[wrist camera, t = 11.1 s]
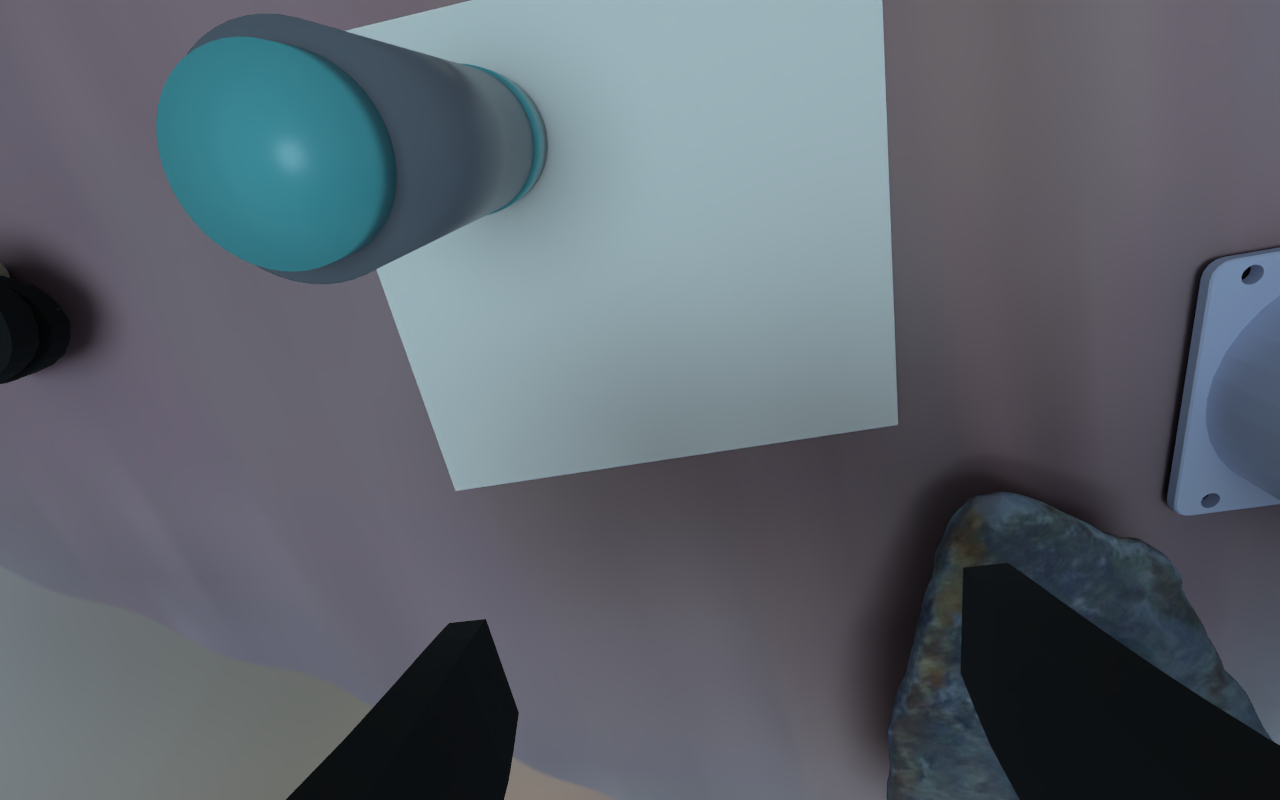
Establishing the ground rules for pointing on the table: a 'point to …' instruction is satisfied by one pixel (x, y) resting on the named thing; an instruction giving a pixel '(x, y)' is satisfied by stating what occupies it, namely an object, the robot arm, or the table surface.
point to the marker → (338, 146)
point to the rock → (1082, 579)
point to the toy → (29, 329)
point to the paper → (661, 237)
